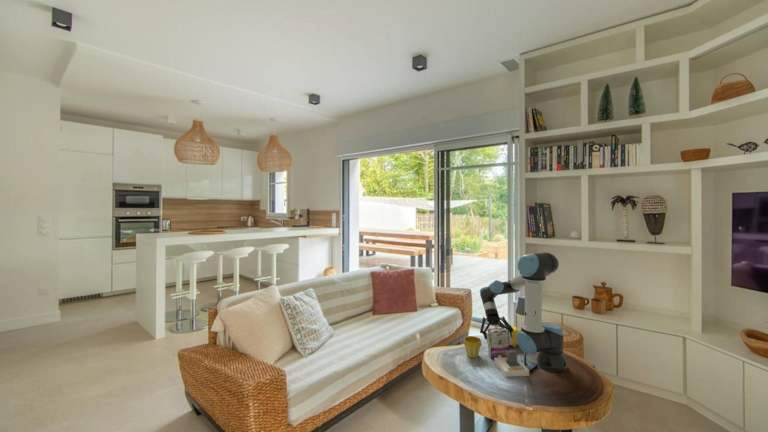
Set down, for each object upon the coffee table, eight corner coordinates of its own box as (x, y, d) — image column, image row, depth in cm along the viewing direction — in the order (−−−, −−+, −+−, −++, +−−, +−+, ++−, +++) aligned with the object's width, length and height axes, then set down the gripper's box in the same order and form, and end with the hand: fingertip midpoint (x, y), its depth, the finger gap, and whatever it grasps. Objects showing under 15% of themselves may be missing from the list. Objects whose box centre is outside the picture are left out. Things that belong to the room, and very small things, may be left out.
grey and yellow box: (493, 337, 224) (493, 319, 224) (525, 342, 215) (525, 323, 215) (491, 345, 212) (490, 326, 211) (524, 350, 203) (524, 331, 203)
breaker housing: (516, 362, 189) (516, 354, 189) (529, 375, 174) (529, 367, 174) (494, 362, 189) (494, 355, 188) (505, 376, 174) (505, 368, 173)
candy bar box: (505, 354, 199) (505, 327, 199) (509, 357, 194) (509, 330, 194) (487, 355, 198) (487, 328, 198) (491, 358, 193) (490, 331, 193)
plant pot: (479, 351, 204) (478, 335, 203) (483, 359, 193) (483, 342, 193) (462, 351, 204) (462, 335, 204) (466, 359, 194) (465, 342, 193)
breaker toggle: (515, 362, 182) (515, 349, 182) (518, 365, 178) (518, 353, 178) (504, 362, 182) (504, 350, 182) (507, 366, 178) (507, 353, 178)
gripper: (508, 312, 211) (519, 345, 197) (470, 313, 210) (478, 347, 196) (511, 307, 206) (523, 340, 191) (472, 308, 205) (480, 342, 190)
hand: (500, 343), depth 194 cm, fingers open, 13 cm apart
